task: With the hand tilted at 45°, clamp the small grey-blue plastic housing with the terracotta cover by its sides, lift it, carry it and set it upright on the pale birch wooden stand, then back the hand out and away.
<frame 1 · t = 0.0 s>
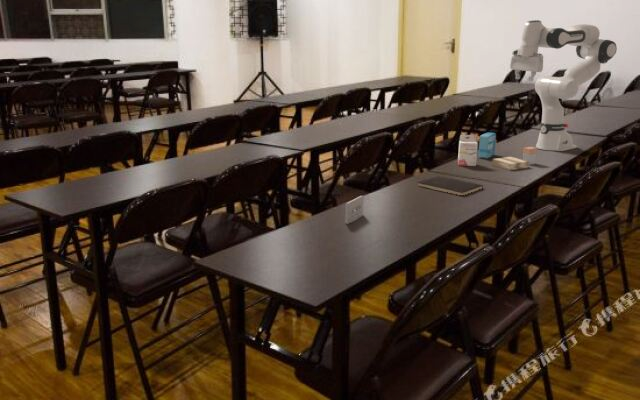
hand: (524, 79, 307), 39 cm above the table, tool pointing down, fingers open, 8 cm apart
data package: (486, 156, 310), on the table
hardcover book: (449, 188, 255), on the table
cassette: (354, 219, 216), on the table
ink cartridge box: (466, 165, 293), on the table
birch stand: (510, 166, 289), on the table
plastic housing: (528, 163, 294), on the table
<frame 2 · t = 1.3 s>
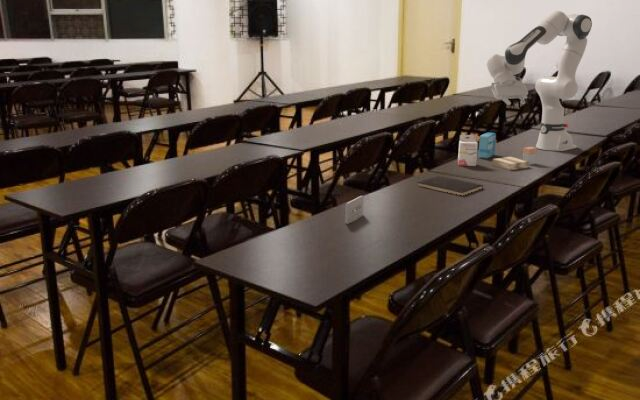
hand: (516, 104, 296), 28 cm above the table, tool tilted 45°, fingers open, 8 cm apart
nothing on the table moved.
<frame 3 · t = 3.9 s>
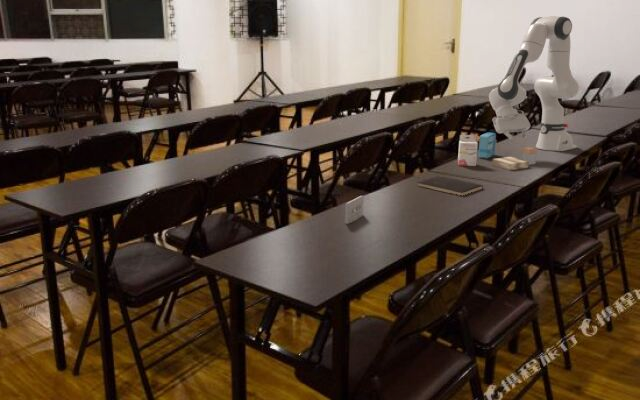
hand: (518, 137, 298), 12 cm above the table, tool tilted 45°, fingers open, 8 cm apart
nothing on the table moved.
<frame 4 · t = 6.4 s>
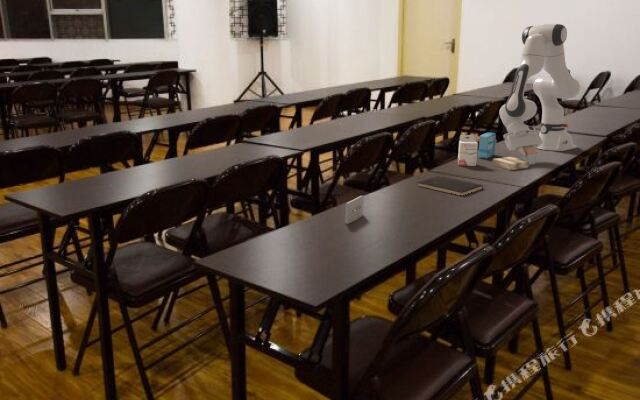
hand: (530, 154, 292), 5 cm above the table, tool tilted 45°, fingers closed on plastic housing, 5 cm apart
plastic housing: (528, 163, 294), on the table, touching gripper
everything else where it was.
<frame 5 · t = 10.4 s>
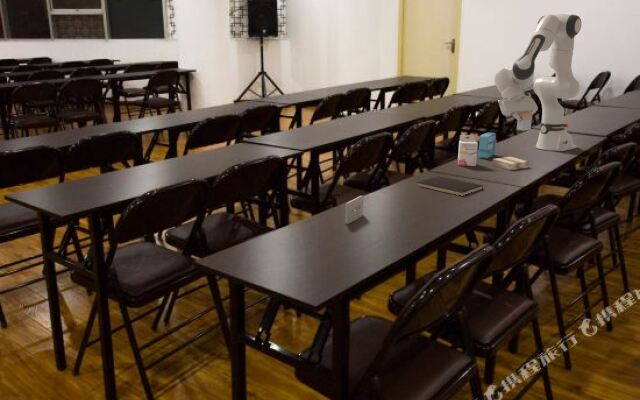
hand: (525, 120, 284), 22 cm above the table, tool tilted 45°, fingers closed on plastic housing, 5 cm apart
plastic housing: (523, 129, 286), point 18 cm above the table, touching gripper
everything else where it was.
when the fingers open (9 cm above the table, at t = 14.3 s): plastic housing drops 1 cm, resting on birch stand.
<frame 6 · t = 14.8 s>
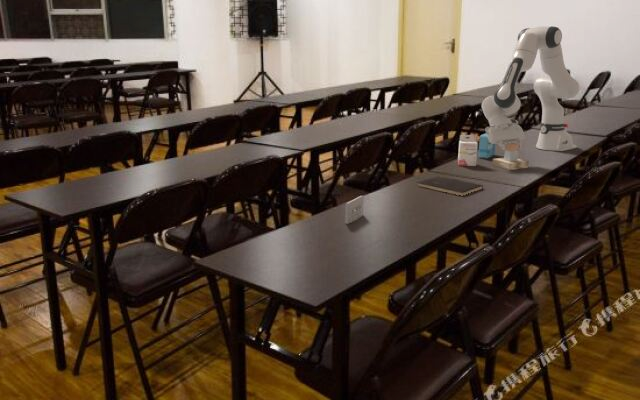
hand: (512, 148, 286), 9 cm above the table, tool tilted 45°, fingers open, 8 cm apart
plastic housing: (510, 160, 288), point 3 cm above the table, touching birch stand
everything else where it was.
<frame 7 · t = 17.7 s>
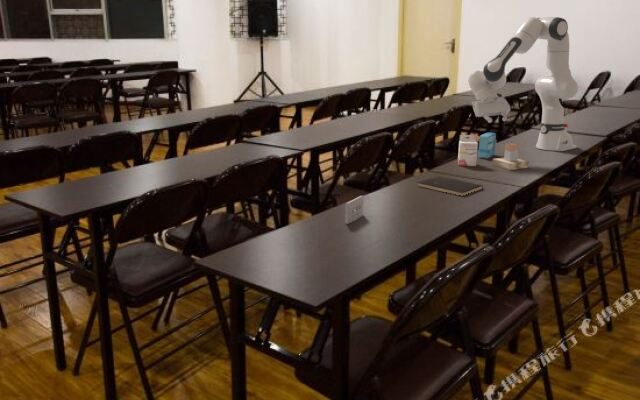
hand: (498, 121, 293), 21 cm above the table, tool tilted 45°, fingers open, 8 cm apart
nothing on the table moved.
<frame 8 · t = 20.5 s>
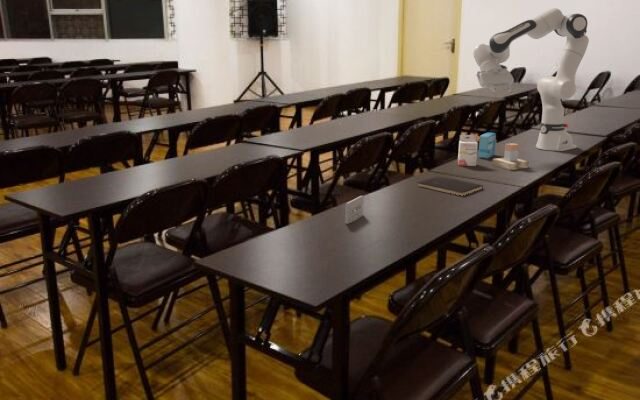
hand: (502, 91, 304), 33 cm above the table, tool tilted 45°, fingers open, 8 cm apart
nothing on the table moved.
at the end: plastic housing inside the target area on the birch stand (0.1 cm from its centre), point 3.0 cm above the birch stand's base; plastic housing tilted 0°; the gripper is holding nothing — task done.
